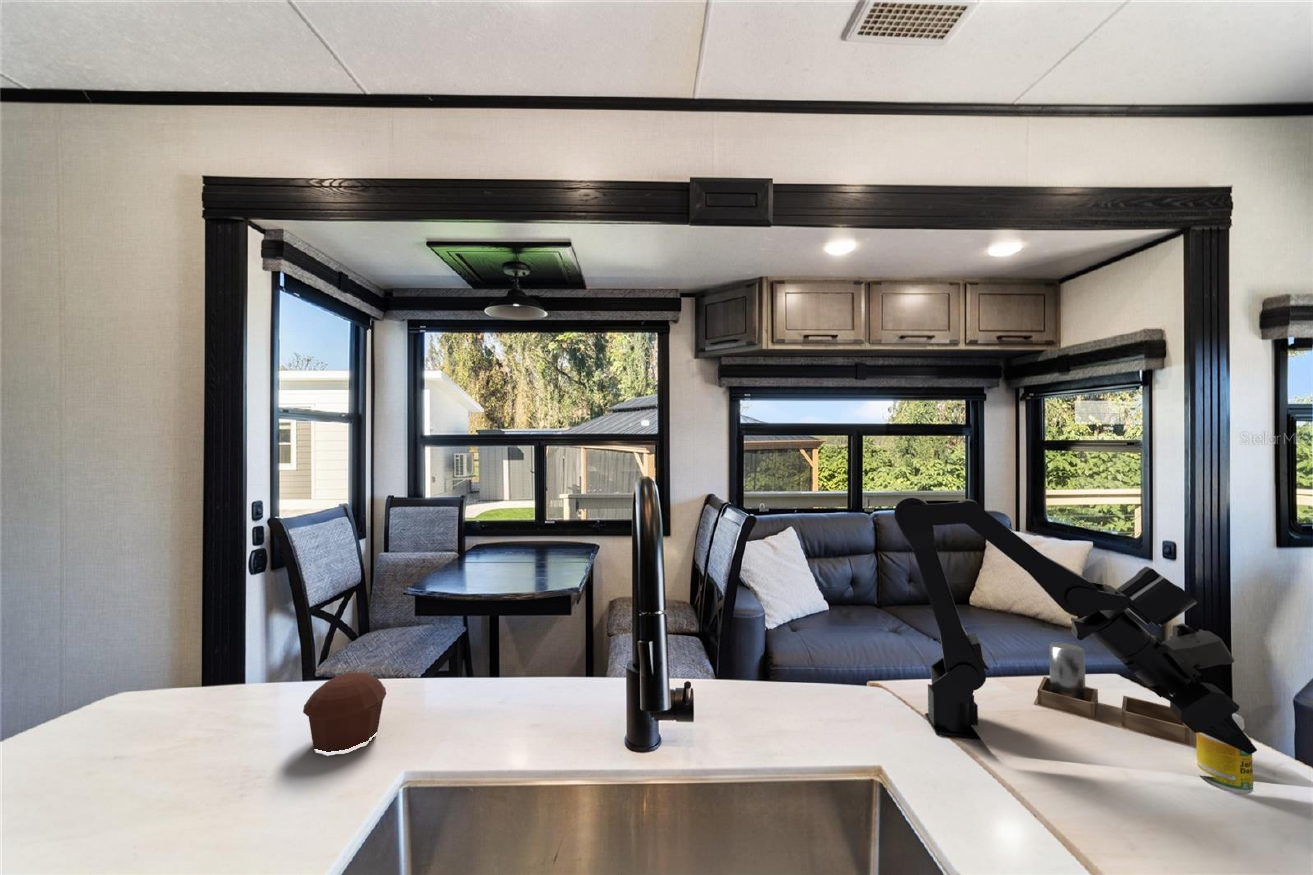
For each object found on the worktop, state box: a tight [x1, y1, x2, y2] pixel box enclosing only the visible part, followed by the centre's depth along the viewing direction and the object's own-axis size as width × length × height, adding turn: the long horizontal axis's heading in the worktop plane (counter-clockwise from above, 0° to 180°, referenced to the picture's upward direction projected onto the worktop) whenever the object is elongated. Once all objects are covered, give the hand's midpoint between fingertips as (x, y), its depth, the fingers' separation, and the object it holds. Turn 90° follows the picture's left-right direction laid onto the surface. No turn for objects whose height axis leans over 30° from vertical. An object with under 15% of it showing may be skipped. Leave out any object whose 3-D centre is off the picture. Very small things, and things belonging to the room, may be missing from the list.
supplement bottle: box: [1195, 713, 1254, 795], centre depth 73 cm, size 5×5×10 cm
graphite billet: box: [1048, 641, 1087, 701], centre depth 94 cm, size 5×5×10 cm
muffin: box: [302, 671, 387, 752], centre depth 84 cm, size 12×11×10 cm
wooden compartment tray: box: [1032, 676, 1196, 749], centre depth 90 cm, size 20×9×4 cm, turn 46°
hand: (1236, 737), depth 73 cm, fingers open, 8 cm apart
